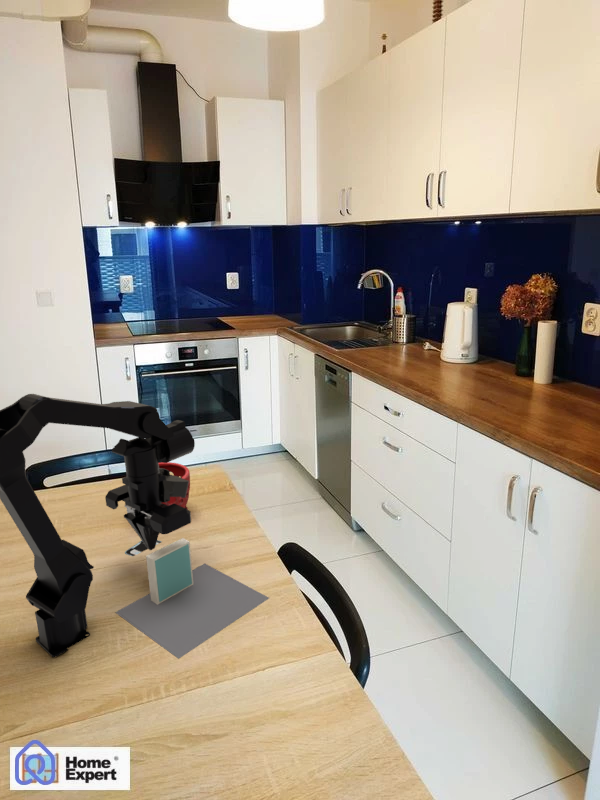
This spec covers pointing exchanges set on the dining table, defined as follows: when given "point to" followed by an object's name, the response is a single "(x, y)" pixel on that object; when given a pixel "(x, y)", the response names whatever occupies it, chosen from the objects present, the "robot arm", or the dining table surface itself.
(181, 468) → the plant pot
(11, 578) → the dining table surface
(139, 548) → the smartphone
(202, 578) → the mat
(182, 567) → the tile
